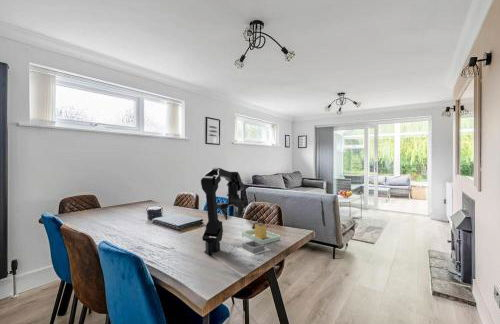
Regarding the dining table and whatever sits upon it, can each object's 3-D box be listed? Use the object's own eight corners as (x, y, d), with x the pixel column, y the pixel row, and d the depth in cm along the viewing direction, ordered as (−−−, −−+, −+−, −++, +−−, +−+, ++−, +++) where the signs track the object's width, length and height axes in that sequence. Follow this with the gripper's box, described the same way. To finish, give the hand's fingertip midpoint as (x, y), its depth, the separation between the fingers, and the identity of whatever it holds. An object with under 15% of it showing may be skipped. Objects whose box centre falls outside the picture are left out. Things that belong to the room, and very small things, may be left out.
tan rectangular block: (261, 239, 146) (261, 226, 146) (254, 237, 151) (254, 223, 151) (266, 238, 148) (266, 225, 148) (260, 235, 153) (260, 222, 153)
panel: (249, 258, 121) (249, 250, 121) (235, 250, 131) (235, 244, 131) (271, 251, 130) (271, 244, 129) (257, 244, 139) (257, 238, 139)
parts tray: (262, 246, 137) (262, 240, 137) (241, 236, 154) (241, 231, 154) (280, 241, 145) (280, 235, 145) (259, 232, 162) (259, 227, 162)
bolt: (253, 233, 166) (260, 227, 180) (259, 230, 164) (266, 224, 178) (248, 225, 167) (257, 219, 180) (254, 222, 165) (262, 216, 179)
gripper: (226, 195, 138) (226, 224, 138) (253, 192, 148) (253, 219, 149) (216, 193, 147) (216, 220, 147) (242, 190, 157) (243, 215, 158)
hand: (233, 218), depth 150 cm, fingers open, 9 cm apart
